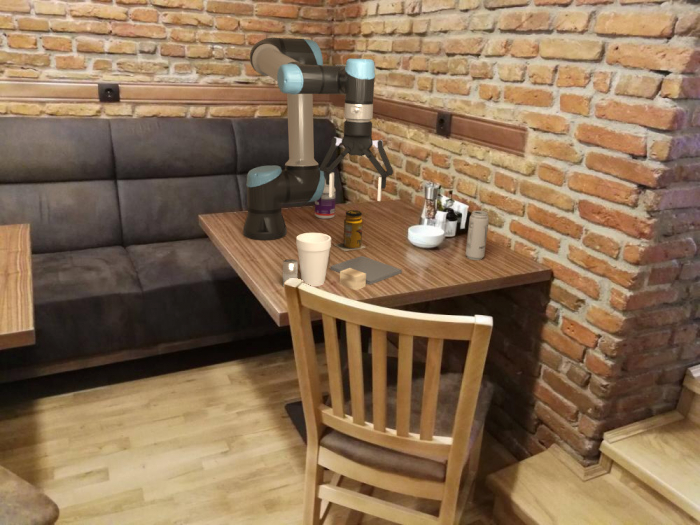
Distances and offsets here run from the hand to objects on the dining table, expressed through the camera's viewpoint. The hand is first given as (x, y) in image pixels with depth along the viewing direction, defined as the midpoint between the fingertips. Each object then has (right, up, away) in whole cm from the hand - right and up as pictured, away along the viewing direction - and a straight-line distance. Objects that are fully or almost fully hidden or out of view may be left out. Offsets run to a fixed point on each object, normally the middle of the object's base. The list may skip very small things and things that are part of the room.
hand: (355, 198), depth 155 cm
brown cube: (-11, -19, +12) cm, 25 cm away
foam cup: (-12, -24, 0) cm, 26 cm away
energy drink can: (+39, -17, +25) cm, 49 cm away
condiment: (-1, -13, +31) cm, 33 cm away
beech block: (-1, -25, -1) cm, 24 cm away
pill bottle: (-11, 0, +64) cm, 65 cm away
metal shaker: (-18, -24, -3) cm, 30 cm away
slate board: (+3, -21, +10) cm, 23 cm away
